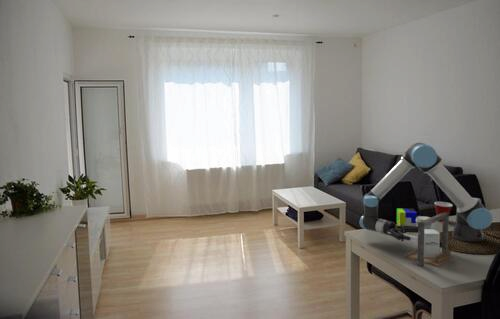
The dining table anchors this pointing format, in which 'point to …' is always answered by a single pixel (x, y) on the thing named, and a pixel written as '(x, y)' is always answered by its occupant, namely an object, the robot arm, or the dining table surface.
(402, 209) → the puzzle toy
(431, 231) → the supplement box
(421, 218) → the coffee cup
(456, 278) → the dining table surface
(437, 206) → the plastic cup
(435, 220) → the keeper arch
